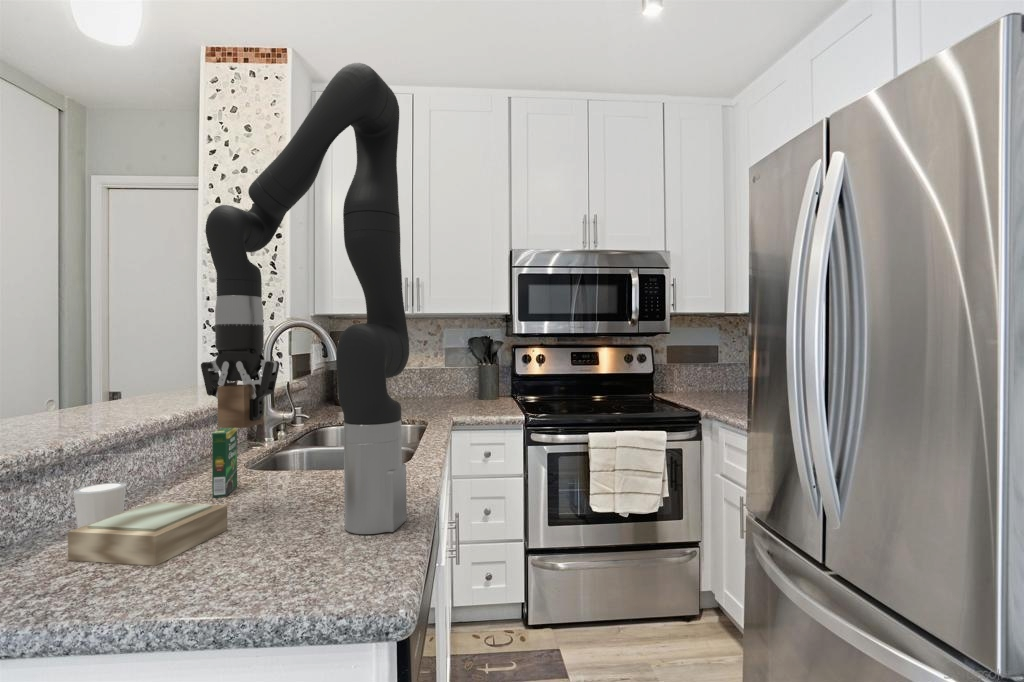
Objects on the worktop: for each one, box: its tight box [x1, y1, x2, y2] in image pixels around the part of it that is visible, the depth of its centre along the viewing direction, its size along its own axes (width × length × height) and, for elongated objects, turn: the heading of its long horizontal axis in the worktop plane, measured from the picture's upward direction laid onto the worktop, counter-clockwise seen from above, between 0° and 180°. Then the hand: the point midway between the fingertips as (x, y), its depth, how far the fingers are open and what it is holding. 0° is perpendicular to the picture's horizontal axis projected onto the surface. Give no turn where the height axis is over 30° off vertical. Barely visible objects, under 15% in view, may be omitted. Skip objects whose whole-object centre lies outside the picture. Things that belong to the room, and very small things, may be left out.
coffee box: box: [211, 428, 238, 498], centre depth 107 cm, size 8×3×13 cm, turn 13°
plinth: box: [67, 501, 228, 567], centre depth 79 cm, size 14×14×4 cm
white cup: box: [73, 482, 127, 528], centre depth 85 cm, size 7×7×7 cm
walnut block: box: [217, 383, 264, 429], centre depth 91 cm, size 5×5×7 cm
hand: (240, 419), depth 91 cm, fingers closed on walnut block, 5 cm apart
